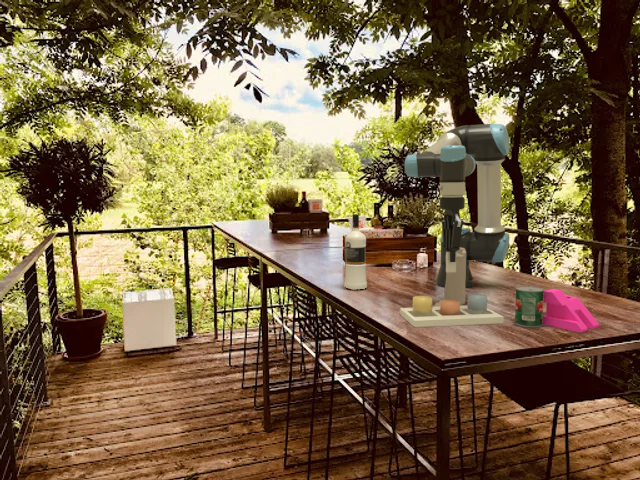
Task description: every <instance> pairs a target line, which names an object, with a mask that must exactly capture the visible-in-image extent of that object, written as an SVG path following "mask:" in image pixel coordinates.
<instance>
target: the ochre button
mask: <svg viewBox="0 0 640 480" xmlns="http://www.w3.org/2000/svg"><path fill="white" fill-rule="evenodd" d="M432 307H433V297H432V296H429V295H415V296H413V297H412V308H413V311H415V312H420V313H428V312H432Z"/></svg>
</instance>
